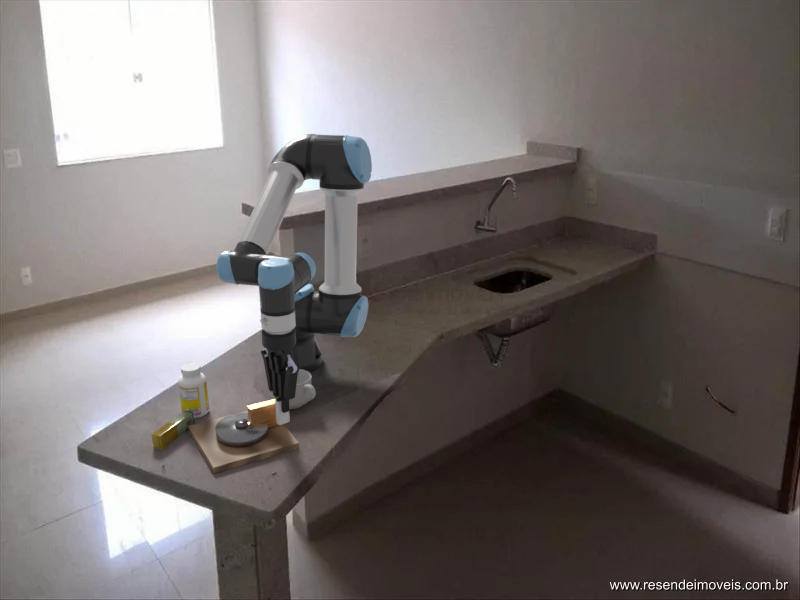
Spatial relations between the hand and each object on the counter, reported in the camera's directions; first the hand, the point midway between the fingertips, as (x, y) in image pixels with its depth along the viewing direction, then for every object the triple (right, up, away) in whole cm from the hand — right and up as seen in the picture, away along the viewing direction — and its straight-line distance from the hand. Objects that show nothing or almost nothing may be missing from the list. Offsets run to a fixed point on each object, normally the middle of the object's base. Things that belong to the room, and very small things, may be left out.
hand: (283, 422), depth 170 cm
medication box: (-26, -4, +3) cm, 27 cm away
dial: (-8, -2, +2) cm, 9 cm away
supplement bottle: (-24, 0, +14) cm, 28 cm away
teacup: (0, +1, +17) cm, 18 cm away
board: (-10, -4, +2) cm, 11 cm away
